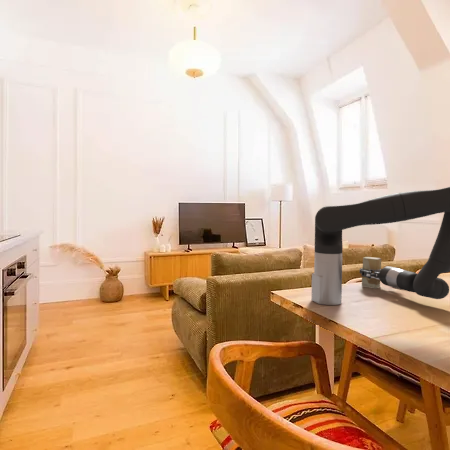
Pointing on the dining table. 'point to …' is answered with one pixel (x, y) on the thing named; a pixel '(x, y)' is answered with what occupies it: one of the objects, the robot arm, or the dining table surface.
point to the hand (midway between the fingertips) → (368, 270)
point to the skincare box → (373, 264)
